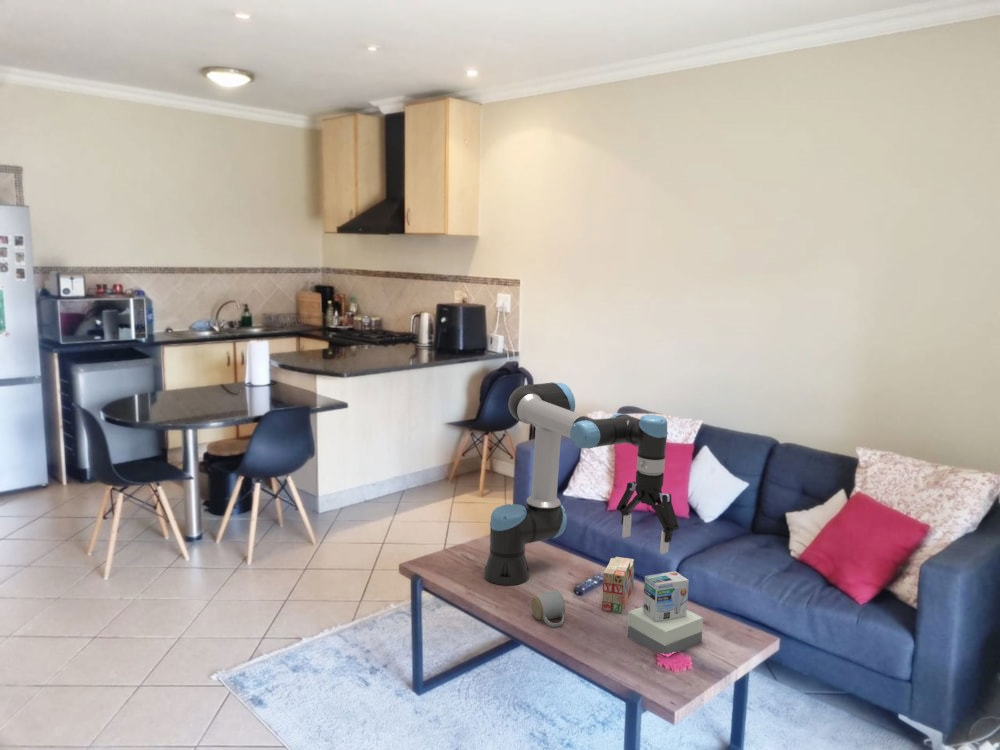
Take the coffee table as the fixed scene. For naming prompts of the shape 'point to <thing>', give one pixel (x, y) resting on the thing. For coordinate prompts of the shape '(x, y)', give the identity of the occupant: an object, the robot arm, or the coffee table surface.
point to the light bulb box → (665, 596)
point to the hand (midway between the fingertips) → (644, 544)
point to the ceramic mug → (548, 607)
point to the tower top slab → (665, 626)
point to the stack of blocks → (617, 584)
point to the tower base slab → (658, 646)
